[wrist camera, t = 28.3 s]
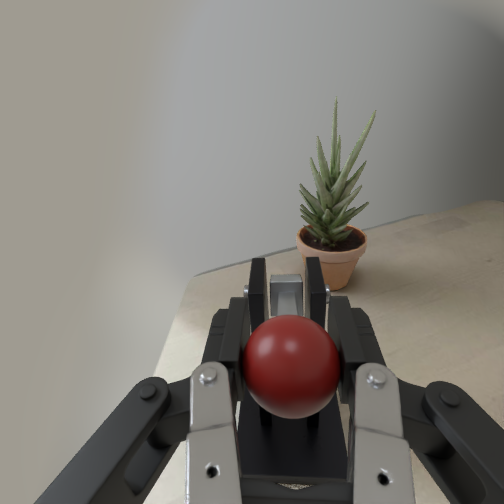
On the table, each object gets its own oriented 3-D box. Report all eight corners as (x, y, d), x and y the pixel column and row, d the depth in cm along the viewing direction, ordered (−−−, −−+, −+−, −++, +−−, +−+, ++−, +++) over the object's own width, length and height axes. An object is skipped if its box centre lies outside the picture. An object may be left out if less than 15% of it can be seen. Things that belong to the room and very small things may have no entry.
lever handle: (351, 445, 10) (350, 334, 10) (237, 441, 10) (232, 334, 10) (310, 312, 24) (309, 265, 24) (263, 313, 24) (261, 267, 24)
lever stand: (350, 486, 24) (376, 338, 16) (234, 481, 25) (204, 338, 17) (328, 360, 34) (338, 231, 26) (246, 359, 35) (232, 235, 27)
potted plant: (370, 271, 48) (396, 90, 36) (348, 306, 41) (370, 101, 29) (310, 255, 53) (314, 93, 41) (282, 284, 47) (277, 102, 34)
